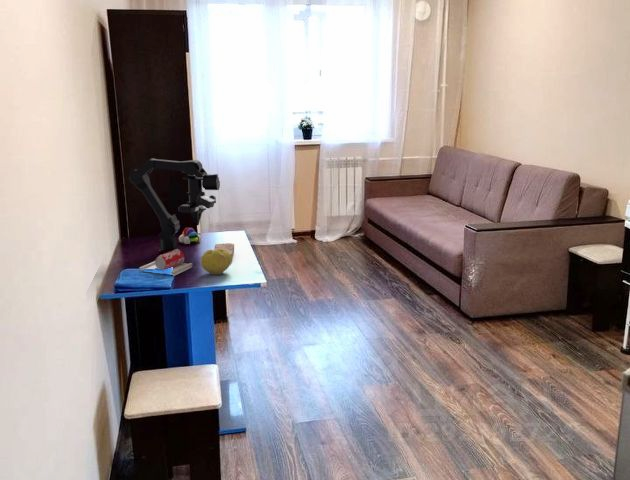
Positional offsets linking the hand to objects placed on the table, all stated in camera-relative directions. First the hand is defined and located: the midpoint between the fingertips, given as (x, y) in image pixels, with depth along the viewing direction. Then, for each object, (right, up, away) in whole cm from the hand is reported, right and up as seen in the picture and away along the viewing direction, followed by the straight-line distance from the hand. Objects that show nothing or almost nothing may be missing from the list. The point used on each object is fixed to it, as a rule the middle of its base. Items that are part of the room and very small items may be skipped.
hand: (197, 225), depth 261 cm
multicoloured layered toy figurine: (-7, -8, +19) cm, 22 cm away
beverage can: (-4, -13, -18) cm, 23 cm away
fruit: (+13, -20, -29) cm, 38 cm away
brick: (+13, -15, -6) cm, 20 cm away
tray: (-8, -18, -23) cm, 31 cm away
